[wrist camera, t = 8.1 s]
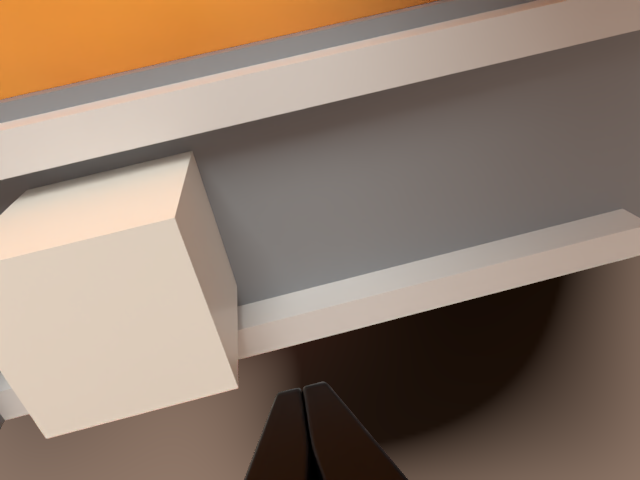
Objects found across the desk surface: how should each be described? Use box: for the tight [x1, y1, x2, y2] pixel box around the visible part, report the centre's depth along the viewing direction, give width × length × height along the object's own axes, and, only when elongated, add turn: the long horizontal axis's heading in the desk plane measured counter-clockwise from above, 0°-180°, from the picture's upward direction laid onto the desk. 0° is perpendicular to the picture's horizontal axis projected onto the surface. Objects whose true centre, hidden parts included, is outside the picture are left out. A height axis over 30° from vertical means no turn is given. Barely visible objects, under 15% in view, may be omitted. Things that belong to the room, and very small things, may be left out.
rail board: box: [0, 0, 640, 429], centre depth 15 cm, size 26×10×4 cm, turn 101°
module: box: [0, 151, 238, 439], centre depth 14 cm, size 5×5×5 cm
